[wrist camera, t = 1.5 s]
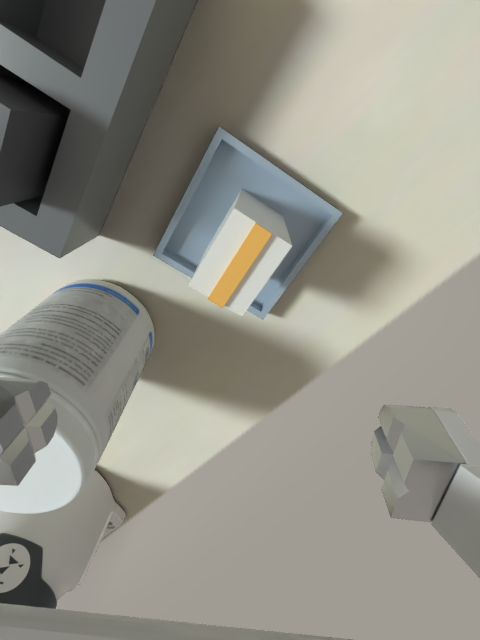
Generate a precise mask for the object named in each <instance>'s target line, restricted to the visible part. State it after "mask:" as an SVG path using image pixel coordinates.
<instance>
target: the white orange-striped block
mask: <svg viewBox="0 0 480 640" xmlns="http://www.w3.org/2000/svg"><path fill="white" fill-rule="evenodd" d="M291 247H292V243H291V240H290V237H289V234H288V230H287V227H286V224H285V221H284V217H283V216H282V215H280V214H279V213H277V212H276V211H274V210H273V209H271V208H270V207H268V206H267V205H265V204H264V203H262V202H261V201H259V200H258V199H256V198H255V197H253V196H252V195H250V194H249V193H247V192H246V191H244V190H243V189H241V191H240V192H239V194H238V196H237V197H236V199H235V201H234V203H233V204H232V206H231V208H230V209H229V211H228V213H227V214H226V216H225V218H224V220H223V221H222V223H221V225H220V226H219V228H218V230H217V232H216V233H215V235H214V237H213V238H212V240H211V242H210V243H209V245H208V247H207V249H206V251H205V253H204V255H203V257H202V259H201V261H200V263H199V265H198V267H197V269H196V271H195V273H194V275H193V277H192V279H191V281H190V283H189V285H188V286H190V287H192V288H193V289H195V290H197V291H199V292H200V293H202V294H204V295H205V296H207V297H208V300H210V301H211V302H213V303H215V304H217V305H218V306H220V307H222V308H223V307H226V308H228V309H230V310H231V311H233V312H235V313H237V314H238V315H240V316H243V315H244V313H245V312H246V311H247V309H248V308H249V306H250V305H251V304H252V302H253V301H254V299H255V298H256V296H257V295H258V294H259V292H260V291H261V289H262V288H263V287H264V285H265V284H266V282H267V281H268V280H269V278H270V277H271V275H272V274H273V273H274V271H275V270H276V268H277V267H278V266H279V264H280V263H281V261H282V260H283V258H284V257H285V256H286V254H287V253H288V251H289V250H290V249H291Z"/></svg>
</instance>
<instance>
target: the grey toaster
mask: <svg viewBox="0 0 480 640" xmlns="http://www.w3.org/2000/svg"><path fill="white" fill-rule="evenodd" d="M196 3H197V0H0V226H1V227H3V228H5V229H7V230H8V231H10V232H12V233H14V234H16V235H18V236H19V237H21V238H23V239H25V240H27V241H29V242H30V243H32V244H34V245H36V246H38V247H39V248H41V249H43V250H45V251H47V252H49V253H50V254H52V255H54V256H56V257H58V258H61V257H63V256H64V255H66V254H68V253H70V252H71V251H73V250H75V249H76V248H78V247H80V246H82V245H83V244H85V243H87V242H88V241H90V240H92V239H94V238H95V237H97V236H99V234H100V232H101V229H102V227H103V225H104V222H105V220H106V217H107V215H108V213H109V210H110V208H111V205H112V203H113V201H114V198H115V196H116V194H117V191H118V189H119V186H120V184H121V182H122V179H123V177H124V174H125V172H126V170H127V167H128V165H129V163H130V160H131V158H132V155H133V153H134V151H135V148H136V146H137V143H138V141H139V139H140V136H141V134H142V132H143V129H144V127H145V124H146V122H147V120H148V117H149V115H150V112H151V110H152V108H153V105H154V103H155V101H156V98H157V96H158V93H159V91H160V89H161V86H162V84H163V81H164V79H165V77H166V74H167V72H168V70H169V67H170V65H171V62H172V60H173V58H174V55H175V53H176V50H177V48H178V46H179V43H180V41H181V38H182V36H183V34H184V31H185V29H186V27H187V24H188V22H189V19H190V17H191V15H192V12H193V10H194V7H195V5H196Z"/></svg>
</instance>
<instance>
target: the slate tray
mask: <svg viewBox="0 0 480 640" xmlns="http://www.w3.org/2000/svg"><path fill="white" fill-rule="evenodd" d="M241 189H243V190H244V191H246V192H247V193H249V194H250V195H252V196H253V197H255V198H256V199H258V200H259V201H261V202H262V203H264V204H265V205H267V206H268V207H270V208H271V209H273V210H274V211H276V212H277V213H279V214H280V215H282V216H283V217H284V221H285V224H286V227H287V230H288V234H289V237H290V240H291V243H292V247H291V249H290V250H289V251H288V253H287V254H286V256H285V257H284V258H283V260H282V261H281V263H280V264H279V266H278V267H277V268H276V270H275V271H274V273H273V274H272V275H271V277H270V278H269V280H268V281H267V282H266V284H265V285H264V287H263V288H262V289H261V291H260V292H259V294H258V295H257V296H256V298H255V299H254V301H253V302H252V304H251V305H250V306H249V308H248V309H247V311H249V312H251V313H252V314H254V315H256V316H258V317H259V318H261V319H264V318H265V316H266V315H267V314H268V312H269V311H270V310H271V308H272V307H273V306H274V304H275V303H276V302H277V300H278V299H279V298H280V296H281V295H282V294H283V292H284V291H285V290H286V288H287V287H288V286H289V284H290V283H291V282H292V280H293V279H294V278H295V276H296V275H297V274H298V272H299V271H300V270H301V268H302V267H303V266H304V264H305V263H306V262H307V260H308V259H309V258H310V256H311V255H312V254H313V252H314V251H315V250H316V248H317V247H318V246H319V244H320V243H321V242H322V240H323V239H324V238H325V236H326V235H327V234H328V232H329V231H330V230H331V228H332V227H333V226H334V224H335V223H336V222H337V220H338V219H339V218H340V216H341V215H342V214H343V213H342V212H340V211H339V210H338V209H337V208H335V207H334V206H332V205H331V204H330V203H328V202H327V201H325V200H324V199H322V198H321V197H320V196H318V195H317V194H315V193H314V192H312V191H311V190H310V189H308V188H307V187H305V186H304V185H303V184H301V183H300V182H298V181H297V180H295V179H294V178H293V177H291V176H290V175H288V174H287V173H285V172H284V171H283V170H281V169H280V168H278V167H277V166H275V165H274V164H273V163H271V162H270V161H268V160H267V159H265V158H264V157H263V156H261V155H260V154H258V153H257V152H256V151H254V150H253V149H251V148H250V147H248V146H247V145H246V144H244V143H243V142H241V141H240V140H238V139H237V138H236V137H234V136H233V135H231V134H230V133H228V132H227V131H226V130H224V129H223V128H221V127H219V128H218V130H217V132H216V134H215V136H214V138H213V139H212V141H211V143H210V145H209V147H208V149H207V151H206V153H205V155H204V157H203V159H202V161H201V163H200V165H199V167H198V169H197V171H196V173H195V175H194V177H193V178H192V180H191V182H190V184H189V186H188V188H187V190H186V192H185V194H184V196H183V198H182V200H181V202H180V204H179V206H178V208H177V210H176V212H175V214H174V216H173V217H172V219H171V221H170V223H169V225H168V227H167V229H166V231H165V233H164V235H163V237H162V239H161V241H160V243H159V245H158V247H157V249H156V251H155V253H154V255H153V256H155V257H157V258H158V259H160V260H162V261H163V262H165V263H167V264H169V265H170V266H172V267H174V268H175V269H177V270H179V271H181V272H182V273H184V274H186V275H187V276H189V277H191V278H192V277H193V275H194V273H195V271H196V269H197V267H198V265H199V263H200V261H201V259H202V257H203V255H204V253H205V251H206V249H207V247H208V245H209V243H210V242H211V240H212V238H213V237H214V235H215V233H216V232H217V230H218V228H219V226H220V225H221V223H222V221H223V220H224V218H225V216H226V214H227V213H228V211H229V209H230V208H231V206H232V204H233V203H234V201H235V199H236V197H237V196H238V194H239V192H240V191H241Z"/></svg>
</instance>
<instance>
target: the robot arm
mask: <svg viewBox="0 0 480 640" xmlns="http://www.w3.org/2000/svg"><path fill="white" fill-rule="evenodd" d="M50 395H51V392H50V389H49V386H48V383H46V382H43V381H40V380H29V379H18V378H8V377H3V378H2V377H0V485H11V486H18V485H19V484H20V483H21V481H22V480H23V478H24V477H25V476H26V474H27V473H28V471H29V470H30V469H31V467H32V466H33V465H34V463H35V462H36V457H35V453H36V452H38V451H39V450H41V449H43V448H44V447H46V446H47V445H48V444H49V442H50V441H51V439H52V438H53V436H54V433H55V430H56V427H57V412H56V408H55V407H54V406H53V405H52V404H51V403H50V402H49V401H47V400H48V398H49V397H50ZM378 418H379V421H380V424H381V426H380V427H379V428H378V429H376V430H375V431H374V433H373V437H372V441H371V455H372V461H373V465H374V468H375V472H376V473H377V474H378V475H379V476H380V477H381V478H383V479H384V483H383V486H382V493H383V496H384V499H385V502H386V505H387V508H388V511H389V514H390V516H391V518H397V519H406V520H415V521H424V522H432V526H433V527H434V528H435V529H436V530H437V531H438V532H439V534H440V535H441V536H442V537H443V538H444V539H445V540H446V541H447V542H448V544H449V545H451V547H452V548H453V549H454V550H455V551H456V552H457V553H458V555H459V556H460V557H461V558H462V559H463V560H464V561H465V562H466V563H467V564H468V566H469V567H470V568H471V569H472V570H473V571H474V572H475V573H476V575H477V576H478V577H479V578H480V445H479V443H478V442H477V440H476V439H475V437H474V436H473V434H472V433H471V432H470V430H469V429H468V427H467V426H466V425H465V423H464V422H463V420H462V419H461V417H460V416H459V415H458V413H457V412H456V411H454V410H453V409H451V408H437V407H428V408H426V407H412V406H397V405H383V407H382V408H381V410H380V413H379V416H378ZM125 516H126V514H125V512H124V511H123V509H122V508H121V507H120V506H119V505H118V504H117V503H116V502H115V501H114V499H113V496H112V493H111V490H110V488H109V486H108V484H107V482H106V481H105V480H104V478H103V477H102V476H101V475H100V474H99V473H98V472H97V471H96V470H94V472H93V473H92V475H91V476H90V477H89V478H88V479H87V481H86V483H85V485H84V487H83V488H82V490H81V492H80V493H79V495H78V496H77V497H76V498H75V499H74V500H73V501H71V502H70V503H69V504H67V505H65V506H63V507H61V508H59V509H56V510H52V511H48V512H42V513H34V514H22V513H11V512H4V511H0V640H351V639H341V638H332V637H322V636H312V635H302V634H293V633H283V632H274V631H264V630H254V629H245V628H234V627H225V626H216V625H206V624H196V623H187V622H177V621H167V620H158V619H147V618H138V617H128V616H119V615H108V614H99V613H89V612H80V611H70V610H61V609H56V605H57V600H58V599H59V598H60V597H61V596H63V595H64V594H65V593H67V592H69V591H71V590H73V589H74V588H75V587H76V586H77V585H80V584H81V583H82V581H83V579H84V577H85V575H86V573H87V571H88V568H89V566H90V564H91V562H92V559H93V557H94V555H95V552H96V550H97V548H98V546H99V543H100V541H101V539H102V538H104V537H105V536H107V535H108V534H109V533H111V532H112V531H113V530H115V529H116V528H117V527H119V526H120V525H121V524H122V523H123V521H124V519H125Z"/></svg>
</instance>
